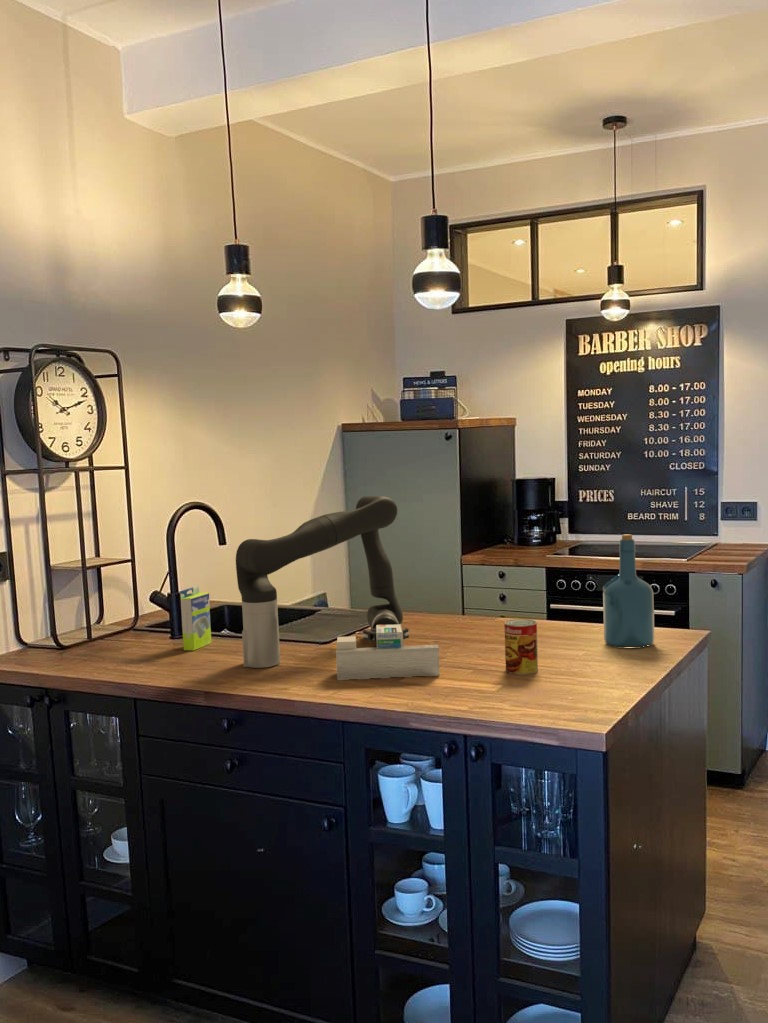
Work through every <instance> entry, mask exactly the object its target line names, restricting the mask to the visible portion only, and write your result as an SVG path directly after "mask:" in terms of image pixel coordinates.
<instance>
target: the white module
mask: <svg viewBox="0 0 768 1023" xmlns="http://www.w3.org/2000/svg"><path fill="white" fill-rule="evenodd" d="M336 639H337V640H336V649H349V648H357V637H356V636H355V635H354V636H353V635H352V636H338V637H337V638H336Z"/></svg>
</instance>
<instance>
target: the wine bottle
mask: <svg viewBox="0 0 768 1023" xmlns="http://www.w3.org/2000/svg"><path fill="white" fill-rule="evenodd" d="M618 552H619V564H618V565H619V571H618V572H619V573H618V574H617V575H615V576H614V577H612V578H611V579H610V580H608V581H607V582H606V583H605V584H604V585H603V586H602V605H603V606H602V608H603V610H602V611H603V617H602V618H603V640H604V642H605V644H607V645H608V646H610V645H611V647H614V646H615V648H618V647H643V646H647V645H650V646H652V645H653V644H654V642H655V606H654V604H655V602H654V596H655V595H654V594H655V593H654V590H653V588H652V586H651V585H650V584H649V583H648V582H646V581H645V580H643V579H641V578H639V577H638V575H637V564H636V552H637V550H636V544H635V539H633V535H632V534H631V533H630V534H629V533H628V534H626V533H625V534H622V535H621V539H620V540H619V548H618ZM652 643H653V644H652ZM651 644H652V645H651ZM647 647H648V646H647ZM643 648H644V647H643Z"/></svg>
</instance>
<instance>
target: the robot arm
mask: <svg viewBox="0 0 768 1023" xmlns="http://www.w3.org/2000/svg"><path fill="white" fill-rule="evenodd" d="M397 515H398V506H397V504H396V503H395V502H394V500H393V499H392V498H390V497H389V496H388V497H387V496H383V495H364V496H362V497H360V498H359V499H358V501H357V502H356V505H355V509H351V510H350V509H349V510H345V511H344V510H343V511H336V512H331V513H327V514H323V515H320V516H318V517H314V518H311V519H309V520H306V521H305V522H303V523H302V524H301V525H300V526H298V527H297V528H296V529H295V530H294V531H293V532H291V533H289V534H287V535H284V536H281V537H277V538H271V539H258V538H257V539H256V538H250V539H249V538H248V539H245V540H243V541H242V542H240V544H239V545H238V547H237V549H236V554H235V570H236V579H237V587H238V591H239V593H240V596H241V608H242V626H243V630H242V631H241V635H242V636H241V637H242V639H241V640H242V654H243V656H242V658H243V668H255V669H258V668H259V669H260V668H262V669H263V668H269V667H275V666H278V665H279V664H281V654H280V653H281V652H280V632H279V631H280V629H279V616H278V615H279V613H278V612H279V611H278V594H277V589H276V587H275V586H274V585H273V584H272V583H271V581H270V580H269V577H268V576H269V575H271V574H273V573H275V572H277V571H279V570H281V569H282V568H284V567H286V566H288V565H289V564H292V563H294V562H295V561H298V560H300V559H304V558H307V557H309V556H313V555H315V554H318V553H319V552H323V551H325V550H328V549H331V548H333V547H335V546H338V545H340V544H342V543H344V542H347V541H348V540H351V539H354V538H355V537H358V536H360V538H361V541H362V545H363V549H364V553H365V558H366V563H367V569H368V570H367V571H368V580H369V588H370V595H371V596H372V597H373V598H377V599H383V600H386V601H387V602H388V604H387V603H385V604H376V605H372V606H370V607H368V609H367V612H366V619H367V623H368V625H369V627H370V628H371V629H370V630H368V629H364V630H362V639H363V641H367V642H368V641H369V642H373V643H376V644H377V640H376V625H397V624H401V625H402V623H403V619H404V614H403V611H402V609H401V606H400V604H399V601H398V598H397V596H396V590H395V586H394V576H393V574H394V573H393V569H392V564H391V562H390V559H389V557H388V555H387V553H386V551H385V549H384V547H383V544H382V541H381V538H380V533H379V530H380V529H384V528H387V527H389V526H390V525H391V524H392V523H394V521H395V520H396V518H397V517H398V516H397ZM409 630H410V629H409V627H406V628H402V631H403V641H404V640H406V639H409V637H410V632H409Z"/></svg>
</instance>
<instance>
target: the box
mask: <svg viewBox="0 0 768 1023" xmlns="http://www.w3.org/2000/svg"><path fill="white" fill-rule="evenodd" d="M199 588H200V587H199V585H196V586H193V587H192V586H191V587H189V588H186V589H182V590H179V597H180V610H181V611H180V612H181V628H182V629H181V630H182V642H183V643H182V646H183V651H196V650H198V649H201V648H202V647H206V646H207V645H210V644H212V629H211V627H212V626H211V612H210V609H211V608H210V606H211V605H210V592H202V591H201V592H200V589H199ZM190 591H191V592H190ZM188 592H189V593H188Z"/></svg>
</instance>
